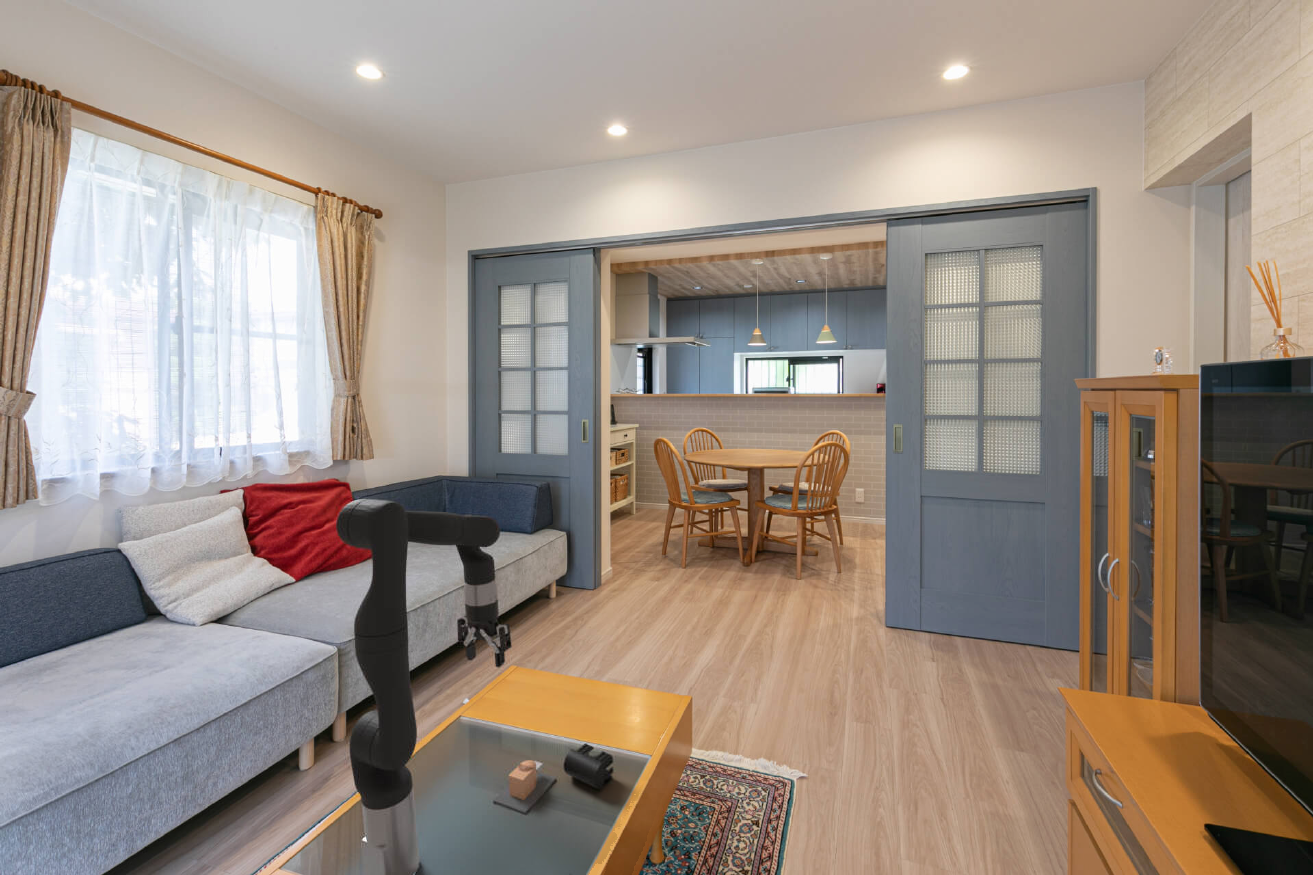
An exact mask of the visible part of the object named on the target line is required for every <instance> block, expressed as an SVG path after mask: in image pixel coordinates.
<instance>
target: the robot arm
mask: <svg viewBox="0 0 1313 875" xmlns="http://www.w3.org/2000/svg"><path fill="white" fill-rule="evenodd" d="M335 528H336V533H337V535H338V537H339V538H340V539H341V541H342V542H343V543H345V544H346V545H347V546H350V547H353V548H356V549H363V550H369V551H370V553H371V559H372V560H371V561H372V562H371V563H372V577H371V581H370V586H369V588H368V589H367V592H366V594H365V595H364V597H363V600H362V602H361V603H360V605H359V608H358V609H357V612H356V613H355V617H354V622H353V623H354V624H353V633H354V651H355V658H356V660H357V663H358V666H359V668H360V670H361V672H362V675H363V677H364V680H366V682H367V684H368V687H369V688H370V690H371V693H372V694H373V697H374V700H375V704H376V709H373V710H371V711H370V710H369V711H368V712H366V713H365V714H363V715H362V716H361V717H360V718H359V719H358V720H357V721H356V723H355V725H354V727H353V728H352V731H351V734H350V738H349V758H350V765H351V771H352V776H353V782H354V787H355V789H356V791H357V792H358V794H359V796H360V801H361V808H362V820H363V828H364V829H363V830H364V836H363V838H361V840H360V847H361V856H362V858H361V859H362V867H363V875H413V874H414V873H415V872H417V873H418V871H419V869H418V868H420V865H419V863H420V853H419V843H418V832H417V830H418V829H417V821H416V820H417V817H416V807H415V798H414V796H415V795H414V786H413V776H412V772H411V771H410V769H409V768H408V767H407V764H408V762H409V761H410V760H411V758H412V757H413V754H414V751H415V749H416V745H417V737H418V734H417V733H418V728H417V719H416V714H415V712H416V711H415V707H414V701H413V695H412V686H411V674H410V672H411V670H410V658H409V628H408V626H409V624H408V612H407V611H408V610H407V562H408V547H409V546H408V545H409V543H416V544H422V545H430V546H431V545H432V546H455V547H456V550H457V552H458V555H459V558H460V560H461V563H462V566H463V579H464V587H463V595H464V597H463V598H464V609H465V610H464V611H465V615H462V617H460V618H458V619H457V641H458V642H459V643H463V645H464V646H465V656H466V659H467V661H472V660H474V659H475V658H476V657H477V651H476V643H475V641H476V640H479V641H480V640H482V641H483V642H486V643H487V644H488V645H489V646H490V647H492V649H493V651H494V662H495V663H494V664H495V667H496V668H498V669H499V668H501V667H502V666H503V665H504V664H505V662H506V659H505V658H506V656H505V655H506V654H505V652H506V651H508V650H509V649H511V648H512V647H513V646H512V640H511V639H512V638H511V629H510V625H509V623H505V624H500V623H499V621H498V616H499V614H500V611H499V598H498V596H499V595H498V585H497V581H496V569H495V560H494V556H492V555H491V554H489V553H488V552H485V551H483V550H482V549H481V548H489V547H491V546H493V545H494V544H495V543H496V542H497V541H498V540H499V538H500V534H501V527H500V524H499V523H498V522H497V520H496V519H494V518H493V517H490V516H483V515H474V514H464V515H462V514H459V513H453V512H443V511H423V510H421V511H417V510H406V509H405V508H404V506H403V505H402V504H400V503H399V502H397V501H393V500H384V499H373V498H360V499H356V500H353V501H351V502H348V503H347V504H345V506H343V507H342V508H341V510H340V512H338V515H337V518H336V524H335ZM494 637H495V639H493V638H494ZM417 870H418V871H417Z"/></svg>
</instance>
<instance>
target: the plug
mask: <svg viewBox="0 0 1313 875" xmlns="http://www.w3.org/2000/svg"><path fill="white" fill-rule="evenodd" d="M543 769H544V764H543V763H542V762H539V761H537V760H531V759H529V760H528V759H527V760H524V761H522V762H520V763H519V765H518V766H516V768H514V770H513V771H512V772H510V774H508V785H509V790H510V795H511V796H514V797H516V798H519V799H522V800H525V799H526V797H527V796H528V795H529V794H530V793H531V792H532V791H533V790H534V789H535V788H536V786H537V774H538V773H539V772H540V773H541V771H542V770H543Z"/></svg>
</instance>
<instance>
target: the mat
mask: <svg viewBox="0 0 1313 875" xmlns="http://www.w3.org/2000/svg"><path fill="white" fill-rule="evenodd" d="M555 781H557V777H555V776H552V775H548V774H545V773H542V772H541V771H540V772H539V773H538V774H537V786H536V788H535V789H534V790H533V791H532V792H531V793H530V794H529V795H528V796H527V797H526V799H525V800H522V799H519V798H516V797H514V796H511V795H510V790H509V784H507V786H506V787H505V788H504V789H502V791H501V792H500V793H499V794H498V795H497V796H496V797H495V798H494V799H492V802H493V803H495V804H498V805H500V806H502V807H505V808H508V809H510V810H513V811H516V812H519V813H522V814H524V815H526V814H527V813H528V812H529V810H531V808H532V807H533V806H534V805H535V804H536V803H537V802H538V801H539V799H540V798H541V797H542V796H543V795H544V794H545V793H546V792H547V791H548V789H549V788H550V787H551V786H552V785H553V784H554V783H555Z"/></svg>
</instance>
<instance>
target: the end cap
mask: <svg viewBox="0 0 1313 875" xmlns="http://www.w3.org/2000/svg"><path fill="white" fill-rule="evenodd" d="M594 748H595V747H594V746H592V745H590V744H587V743H584V744H583V745H581V746H580V747H579V748H577V749H576V750H575V749H572V748H571V749H570V750H569V751H568V752H567V754H566V756H565V758H564V761H563V771H564V773H565V774H567V775H568V776H570V777H573V779H574V778H575V779H576V780H578V781H581V782H583V783H584V784H587V785H588V786H591V787H592V788H594V789H596V790H599V791H601V790H603V789H604V788H605V787H606V786H608V784H610V783H611V782H612V781H613V776H612V774H614V767H611V765H612V764H613V763H614V759H613V758H614V757H613V755H612V754H609V752H606V751H602V750H601V752H600V753H599V754H597V755H595V756H592V755H590V753H591V752H592V751H593V750H594ZM609 767H610V768H609ZM607 768H608V769H607ZM610 781H611V782H610ZM609 782H610V783H609Z"/></svg>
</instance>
